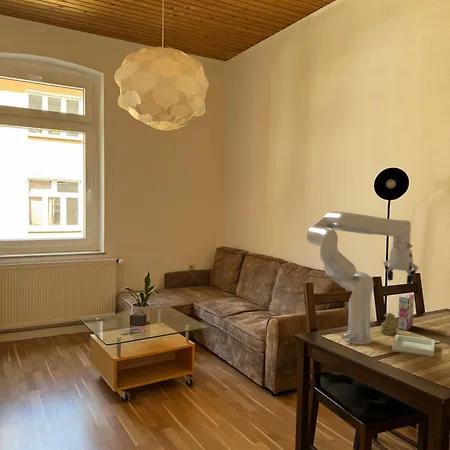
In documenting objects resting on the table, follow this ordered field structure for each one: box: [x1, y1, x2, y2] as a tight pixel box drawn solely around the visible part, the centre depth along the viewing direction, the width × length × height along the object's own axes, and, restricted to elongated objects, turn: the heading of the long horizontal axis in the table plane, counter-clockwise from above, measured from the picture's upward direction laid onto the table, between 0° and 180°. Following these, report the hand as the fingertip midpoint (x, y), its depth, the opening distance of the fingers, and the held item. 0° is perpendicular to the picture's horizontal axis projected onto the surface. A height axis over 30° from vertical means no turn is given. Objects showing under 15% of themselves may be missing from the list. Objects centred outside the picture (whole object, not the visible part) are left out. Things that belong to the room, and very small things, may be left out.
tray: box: [391, 334, 436, 359], centre depth 188 cm, size 16×16×3 cm
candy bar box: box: [397, 293, 415, 331], centre depth 218 cm, size 11×5×16 cm, turn 144°
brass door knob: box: [380, 312, 398, 337], centre depth 208 cm, size 7×7×10 cm
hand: (399, 281), depth 204 cm, fingers open, 9 cm apart
